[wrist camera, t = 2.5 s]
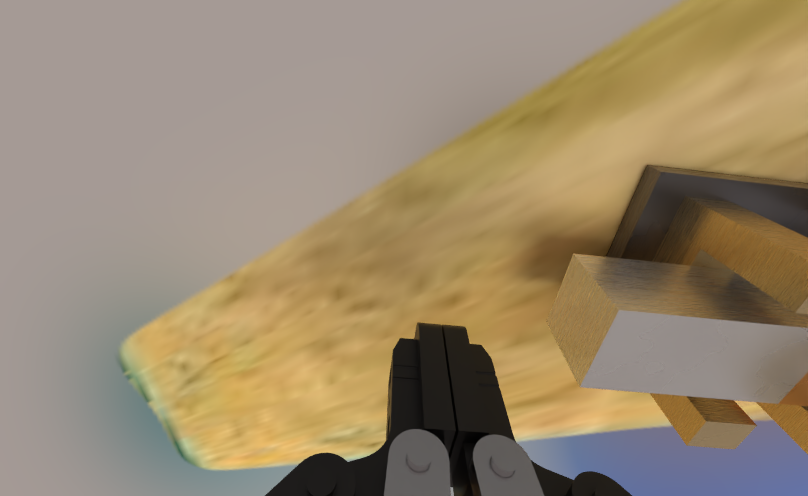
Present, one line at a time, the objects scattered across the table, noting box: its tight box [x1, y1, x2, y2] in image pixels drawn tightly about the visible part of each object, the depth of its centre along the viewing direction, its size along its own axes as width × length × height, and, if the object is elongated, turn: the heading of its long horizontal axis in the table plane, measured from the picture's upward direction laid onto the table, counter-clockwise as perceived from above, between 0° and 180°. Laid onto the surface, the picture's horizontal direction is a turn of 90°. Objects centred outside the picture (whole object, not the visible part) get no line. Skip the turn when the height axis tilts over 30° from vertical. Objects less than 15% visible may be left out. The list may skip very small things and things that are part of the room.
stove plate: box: [606, 165, 808, 262], centre depth 18 cm, size 16×10×1 cm, turn 84°
